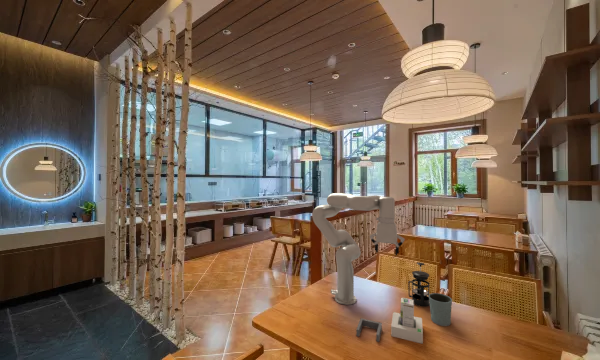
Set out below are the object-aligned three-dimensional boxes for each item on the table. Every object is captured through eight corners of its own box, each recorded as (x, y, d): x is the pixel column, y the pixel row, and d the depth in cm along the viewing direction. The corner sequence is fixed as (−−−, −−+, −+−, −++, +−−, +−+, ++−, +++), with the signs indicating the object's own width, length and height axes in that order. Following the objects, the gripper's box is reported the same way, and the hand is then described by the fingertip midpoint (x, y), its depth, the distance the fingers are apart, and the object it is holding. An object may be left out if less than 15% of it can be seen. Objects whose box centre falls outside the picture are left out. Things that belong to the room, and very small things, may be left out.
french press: (428, 299, 146) (428, 261, 146) (433, 308, 137) (432, 266, 137) (407, 297, 149) (407, 259, 149) (410, 305, 140) (409, 264, 140)
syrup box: (400, 326, 120) (400, 297, 120) (413, 329, 118) (413, 299, 118) (400, 333, 115) (400, 302, 115) (414, 336, 113) (414, 305, 113)
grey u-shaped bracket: (356, 335, 114) (356, 329, 113) (360, 324, 123) (360, 318, 123) (379, 341, 109) (379, 335, 109) (381, 329, 118) (381, 322, 118)
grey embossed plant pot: (455, 328, 119) (455, 303, 119) (432, 325, 121) (432, 301, 121) (447, 316, 129) (447, 293, 129) (426, 314, 131) (426, 291, 131)
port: (391, 335, 113) (391, 324, 113) (393, 320, 125) (393, 310, 125) (422, 343, 108) (422, 332, 108) (421, 327, 120) (421, 316, 120)
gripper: (368, 220, 129) (368, 253, 130) (404, 223, 122) (404, 257, 122) (370, 218, 136) (370, 249, 136) (405, 220, 129) (404, 253, 129)
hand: (386, 253), depth 129 cm, fingers open, 9 cm apart
